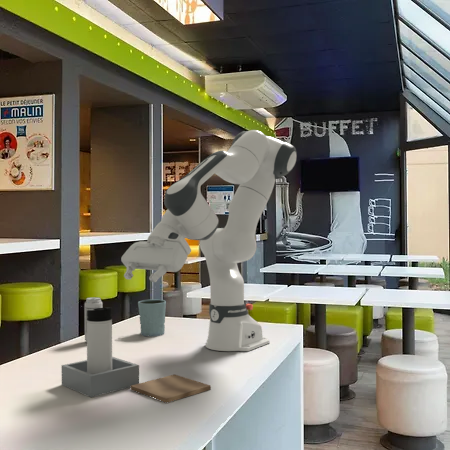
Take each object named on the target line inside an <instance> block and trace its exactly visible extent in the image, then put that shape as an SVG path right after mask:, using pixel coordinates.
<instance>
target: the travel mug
mask: <svg viewBox="0 0 450 450" xmlns="http://www.w3.org/2000/svg"><path fill="white" fill-rule="evenodd" d="M112 309H113V307H112V306H108V307H103V308H96V309H94V310H87V342H86V360H87V373H89V374H92V375H93V374H97V373H101V372H106V371H110V370H112V357H113V322H112V321H113V317H112V315H113V312H112V311H113V310H112Z"/></svg>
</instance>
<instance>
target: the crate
mask: <svg viewBox="0 0 450 450" xmlns="http://www.w3.org/2000/svg"><path fill="white" fill-rule="evenodd" d="M139 383H140V365H139V364H136V363H133V362H131V361H129V360H128V361H127V360H123V359H121V358H118V357H114V356H112V370H110V371H106V372H101V373H97V374H93V375H92V374H89V373H87V359H85V360H80V361H75V362H71V363H67V364H62V365H61V385H62V386H63V387H65V388H69V389H71V390H73V391H75V392H78V393H80V394H82V395H85V396H87V397H89V398H93V397H98V396H102V395H105V394H109V393H112V392H116V391H120V390H123V389H127V388H131V386H132V385H135V384H139Z"/></svg>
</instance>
